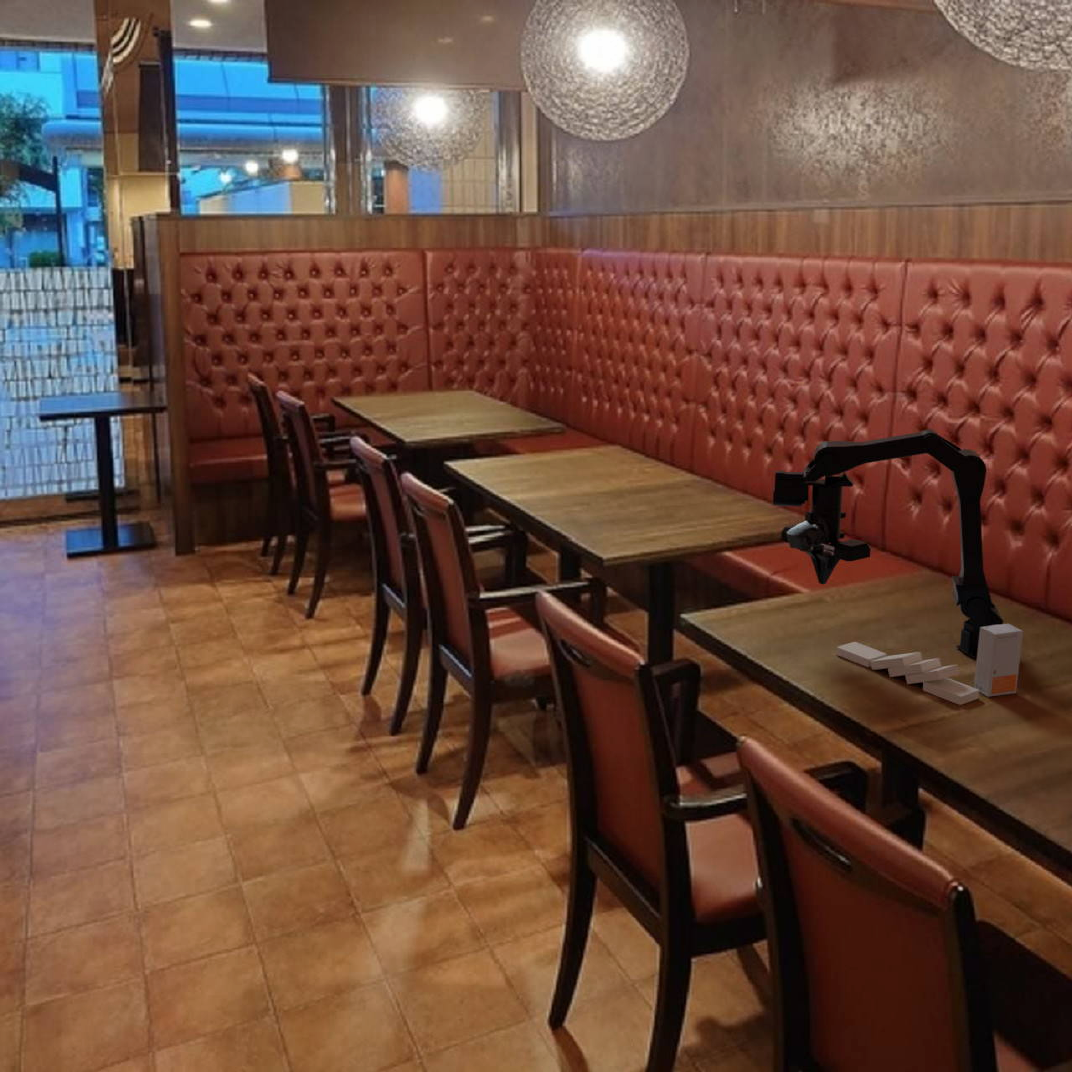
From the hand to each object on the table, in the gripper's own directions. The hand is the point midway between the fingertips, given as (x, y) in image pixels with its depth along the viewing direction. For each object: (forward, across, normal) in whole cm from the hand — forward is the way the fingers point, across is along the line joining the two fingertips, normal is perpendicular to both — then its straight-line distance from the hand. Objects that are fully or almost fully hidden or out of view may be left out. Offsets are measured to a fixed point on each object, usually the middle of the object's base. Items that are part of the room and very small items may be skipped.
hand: (822, 583), depth 224 cm
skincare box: (+13, +35, +8) cm, 38 cm away
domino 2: (+12, +15, 0) cm, 19 cm away
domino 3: (+12, +20, 0) cm, 23 cm away
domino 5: (+12, +28, 0) cm, 30 cm away
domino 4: (+12, +24, 0) cm, 26 cm away
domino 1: (+12, +6, 0) cm, 13 cm away
